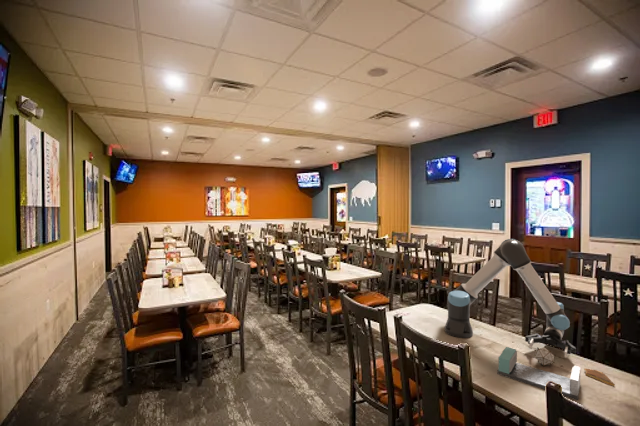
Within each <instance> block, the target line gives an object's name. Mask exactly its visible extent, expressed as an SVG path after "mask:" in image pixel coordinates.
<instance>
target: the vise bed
mask: <svg viewBox="0 0 640 426" xmlns="http://www.w3.org/2000/svg"><path fill="white" fill-rule="evenodd" d="M496 373H497V375H499V376H502V377H506V378H509V379H512V380H515V381H518V382H521V383H524V384H527V385H530V386H533V387H537V388H539V389H543V390H545V386H546V383H547V382H548V381H553V382H555V383H557V384H560V385H561V387H562V394H563V395H564V396H563V395H562V396H563V397H566V398H570V399H571V400H572V399H573V400H576V401H579V395H580V387H581V366H578V365H573V366H572V368H571V374H570V377H567V376H563V375H560V374H557V373H554V372H550V371H546V370H542V369H540V368H536V367H532V366H531V365H530V366H529V365H526V364H523V363H521V362H520V363H519V362H516V364H515V365H514V367H513V369H512V371H511V372H510V373H509V374H507V373H504V372H501V371H499V368H498V369H497V371H496Z"/></svg>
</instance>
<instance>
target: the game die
mask: <svg viewBox="0 0 640 426" xmlns="http://www.w3.org/2000/svg"><path fill="white" fill-rule="evenodd" d="M536 348H537V349H534V352H535V353H534V356H532V358H533V359H536V360H537V362H538V363H540V364H541V365H542V368H544V367H545V366H547V365H550V366H552V364H556V362H555V360H554V359H555V357H556V356H557V355H556V354H553V352H552V350H549V349H548V348H547V347H546V345H544V347H541V348H539V347H536Z"/></svg>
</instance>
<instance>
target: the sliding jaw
mask: <svg viewBox="0 0 640 426" xmlns="http://www.w3.org/2000/svg"><path fill="white" fill-rule="evenodd" d="M517 361H518V351H517V349H516V348H513V347H508V346H505V348H504V349H503V350H502V352H501V353H500V355H499V356H498V369H499V371H501V372H504V373H507V374H509V373H510V372H511V371H512V369H513V367H514V365H515V364H516V363H518V362H517Z"/></svg>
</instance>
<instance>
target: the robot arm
mask: <svg viewBox="0 0 640 426" xmlns="http://www.w3.org/2000/svg"><path fill="white" fill-rule="evenodd" d="M507 267H511V268H512V270H514V271H516V272H517V274H518V275H519V277H520V278H521V280H522V281H523V282H524V284H525V286H526V287H527V289H528V290H529V292H530V293H531V295H532V296H533V298H534V299H535V300H536V301H537V304H538V305H539V306H540V309H542V310H543V311H542V312H544V313H545V316H546V324H545V325H546V328H545V331H544V332H543V335H540V334H539V333H537V332H536V333H534V334H529V335H526V336H525V340H524V341H525V342H527V344H528V345H529V348H528V349H532V348H533V346H534V344H537V343H538V344H541V343H542V344H548V345H550V346H555V347H557V348H560V349H562V350H564V358H567V357H568V355H571V353H572V354H574V355H576V354H577V348H576V346H574V345H573V344H572V343H570V342H569V341H570V340H568V339H566V340H563V339H562V338H563V336H564V334H565V330H568V329H569V328H570V327H571V325H570V324H571V322H570V319H569V317H567V315H566V314H565V311H564V310H565V307H564V306H565V305H564V304H563V303H562V302H559V301H557V300H556V299H555V297H554V296H553V294H552V293H551V292H550V290H549V289H548V287H547V285H545V283H544V281H543V280H542V278H541V277H540V276H539V273H538V272H537V271H536V270H535V268H534V267H533V265H532V261H531V259H530V256H529V255H528V254H527V251H526V248H525V247H524V244H523V243H522V242H521V241H520V240H517V239H515V238H507V239H505V240H503V241H501V244H500V245H499V246H498V247H497V249H495V250H494V251H493V256H492V257H491V258H490V259H489V260H488V261H487V262H486V263H485V264H484V265H483V266H482V267H481V268H480V269H479V270H478V271H477V272H476V273H475V274H474V275H473V276H472V277H471V278H469V280H468V281H467V282H466V283H461V284H460V285H459V286H458V287H457V288H455V289H453V290H452V291H450V292H448V296H447V320H446V323H445V325H444V332H445V334H447V335H449V336H452V337H455V338H462V339H463V338H464V339H468V338H471V337H473V335H474V330H473V328H472V324H471V321H470V317H471V316H470V315H471V314H470V312H471V311H470V310H471V309H470V308H471V305H472V304H473V303H474V302H475V301H476V300H477V299H478V294H479V293H480V292H481V291H482V290H484V288H486V287H487V285H488V284H490V282H492V281H493V279H495V278H496V277H497V276H498V275H500V273H501V272H502V271H503V270H504V269H505V268H507Z"/></svg>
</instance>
